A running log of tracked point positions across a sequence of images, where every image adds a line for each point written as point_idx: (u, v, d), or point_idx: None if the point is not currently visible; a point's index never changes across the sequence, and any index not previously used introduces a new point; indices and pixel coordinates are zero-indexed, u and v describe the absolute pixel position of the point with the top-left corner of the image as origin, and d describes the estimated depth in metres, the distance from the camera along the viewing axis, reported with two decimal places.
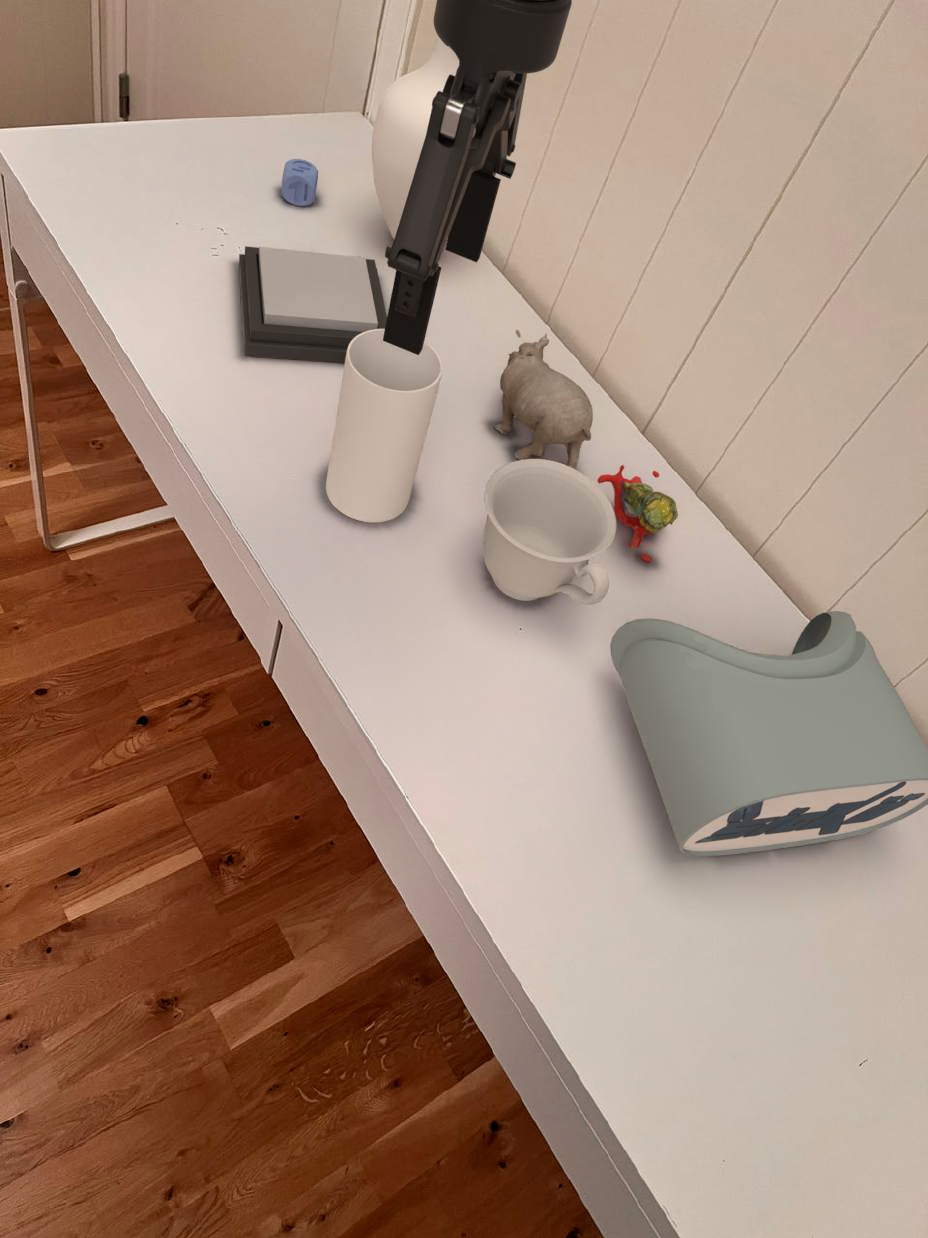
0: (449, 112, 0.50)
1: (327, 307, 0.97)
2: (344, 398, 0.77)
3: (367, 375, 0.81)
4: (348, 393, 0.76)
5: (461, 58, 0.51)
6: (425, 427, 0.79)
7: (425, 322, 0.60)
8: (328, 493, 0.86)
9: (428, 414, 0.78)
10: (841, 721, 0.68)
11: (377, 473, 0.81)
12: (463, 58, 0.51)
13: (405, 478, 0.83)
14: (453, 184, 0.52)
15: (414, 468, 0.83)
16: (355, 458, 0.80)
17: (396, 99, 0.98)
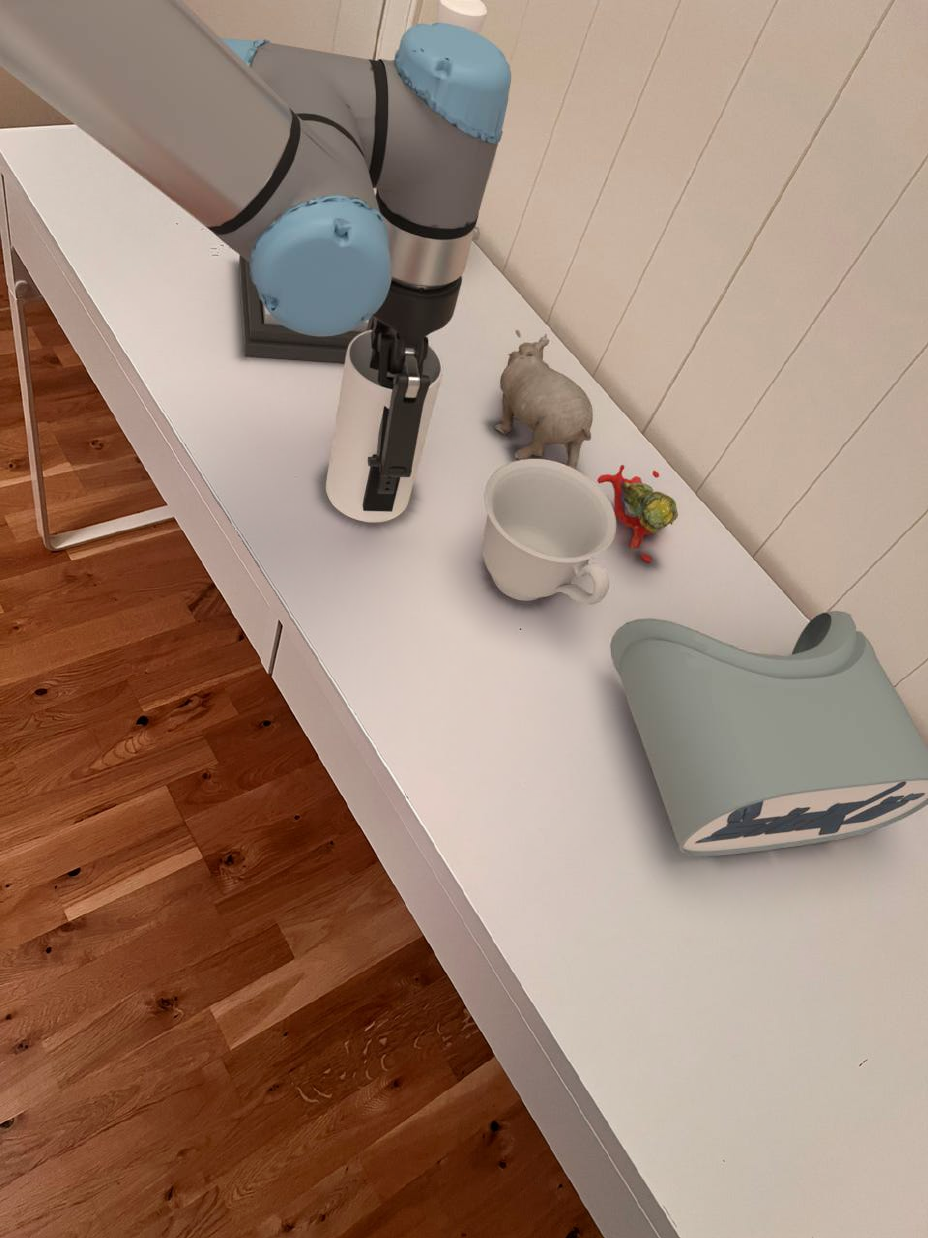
0: (411, 388, 0.70)
1: None
2: (344, 398, 0.77)
3: (367, 375, 0.81)
4: (348, 393, 0.76)
5: (402, 333, 0.69)
6: (425, 427, 0.79)
7: (396, 491, 0.82)
8: (328, 493, 0.86)
9: (428, 414, 0.78)
10: (841, 721, 0.68)
11: None
12: (403, 333, 0.69)
13: (405, 478, 0.83)
14: (419, 422, 0.73)
15: (414, 468, 0.83)
16: (355, 458, 0.80)
17: None
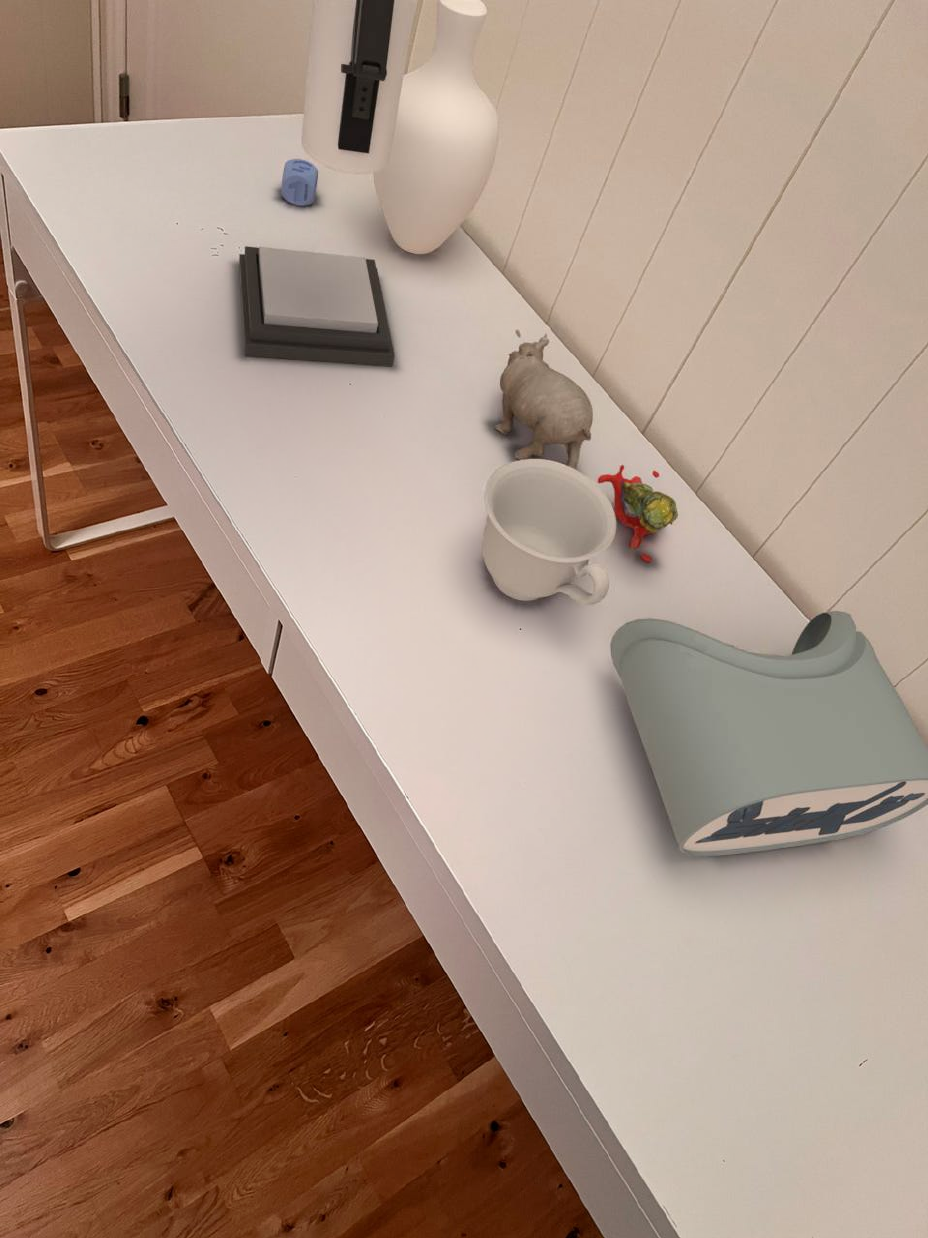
0: None
1: (327, 307, 0.97)
2: None
3: None
4: None
5: None
6: (403, 41, 0.75)
7: (372, 122, 0.77)
8: (303, 143, 0.82)
9: (406, 21, 0.73)
10: (841, 721, 0.68)
11: None
12: None
13: (383, 113, 0.78)
14: None
15: (393, 103, 0.79)
16: (329, 77, 0.75)
17: None
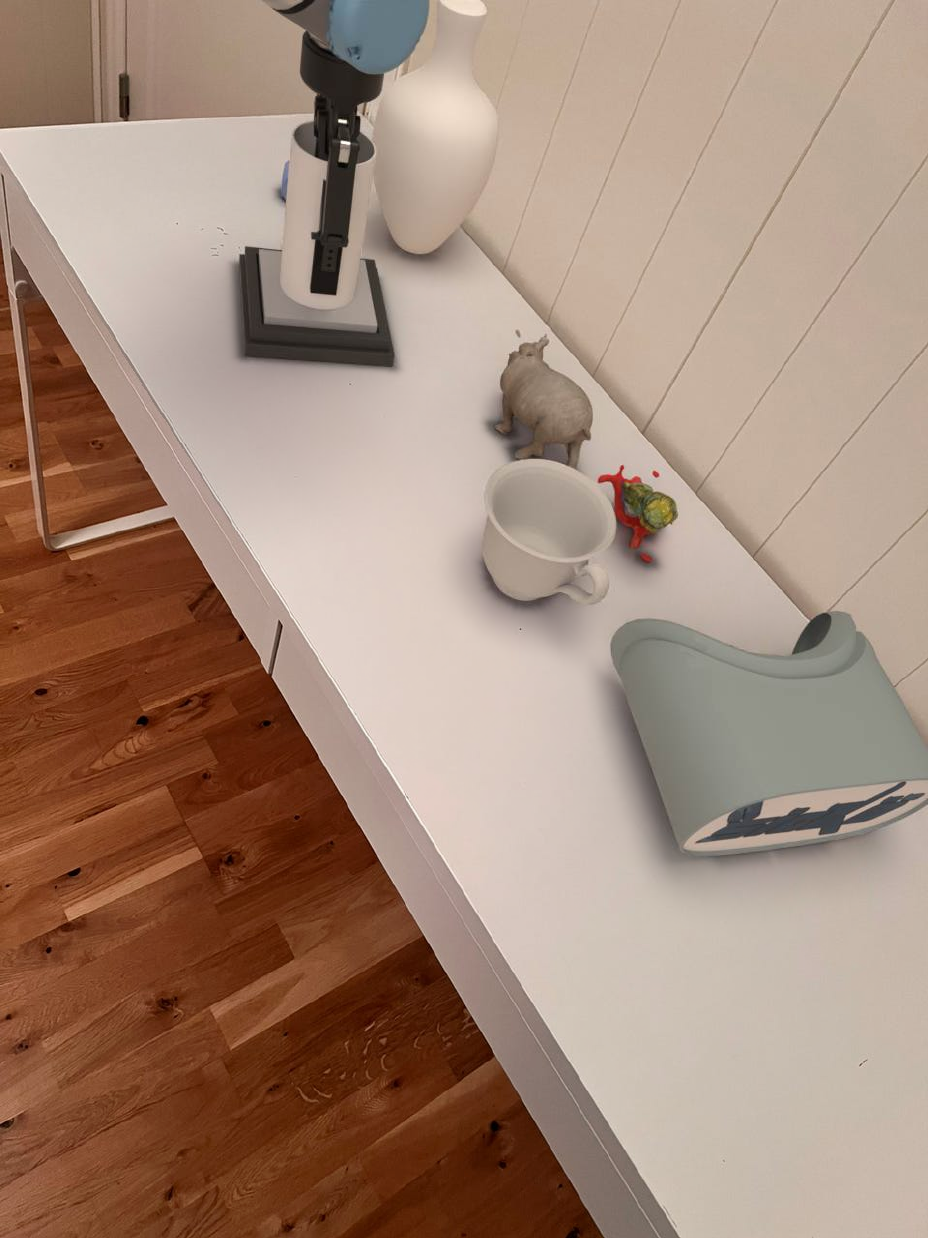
0: (343, 150, 0.81)
1: None
2: (290, 178, 0.88)
3: None
4: (293, 172, 0.87)
5: (335, 102, 0.80)
6: (363, 210, 0.90)
7: (338, 272, 0.93)
8: (281, 284, 0.97)
9: (365, 195, 0.89)
10: (841, 721, 0.68)
11: None
12: (336, 101, 0.80)
13: (347, 263, 0.94)
14: (352, 189, 0.84)
15: (356, 255, 0.94)
16: (302, 238, 0.91)
17: (396, 98, 0.98)
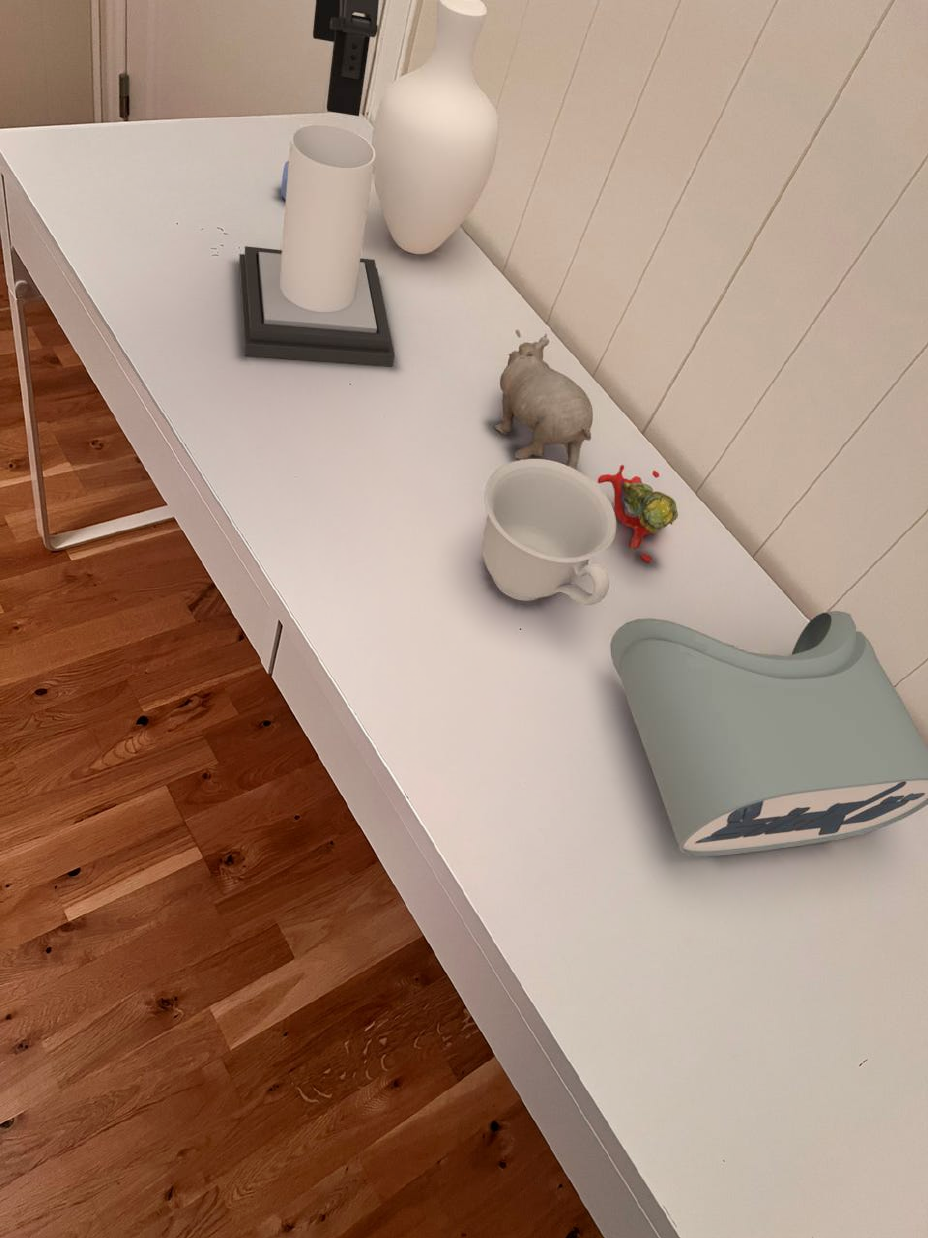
0: None
1: (326, 312, 0.97)
2: (290, 182, 0.88)
3: None
4: (293, 175, 0.87)
5: None
6: (362, 213, 0.90)
7: (362, 83, 0.75)
8: (281, 287, 0.97)
9: (364, 198, 0.89)
10: (841, 721, 0.68)
11: (321, 257, 0.92)
12: None
13: (347, 266, 0.94)
14: None
15: (355, 258, 0.94)
16: (301, 242, 0.91)
17: (396, 98, 0.98)
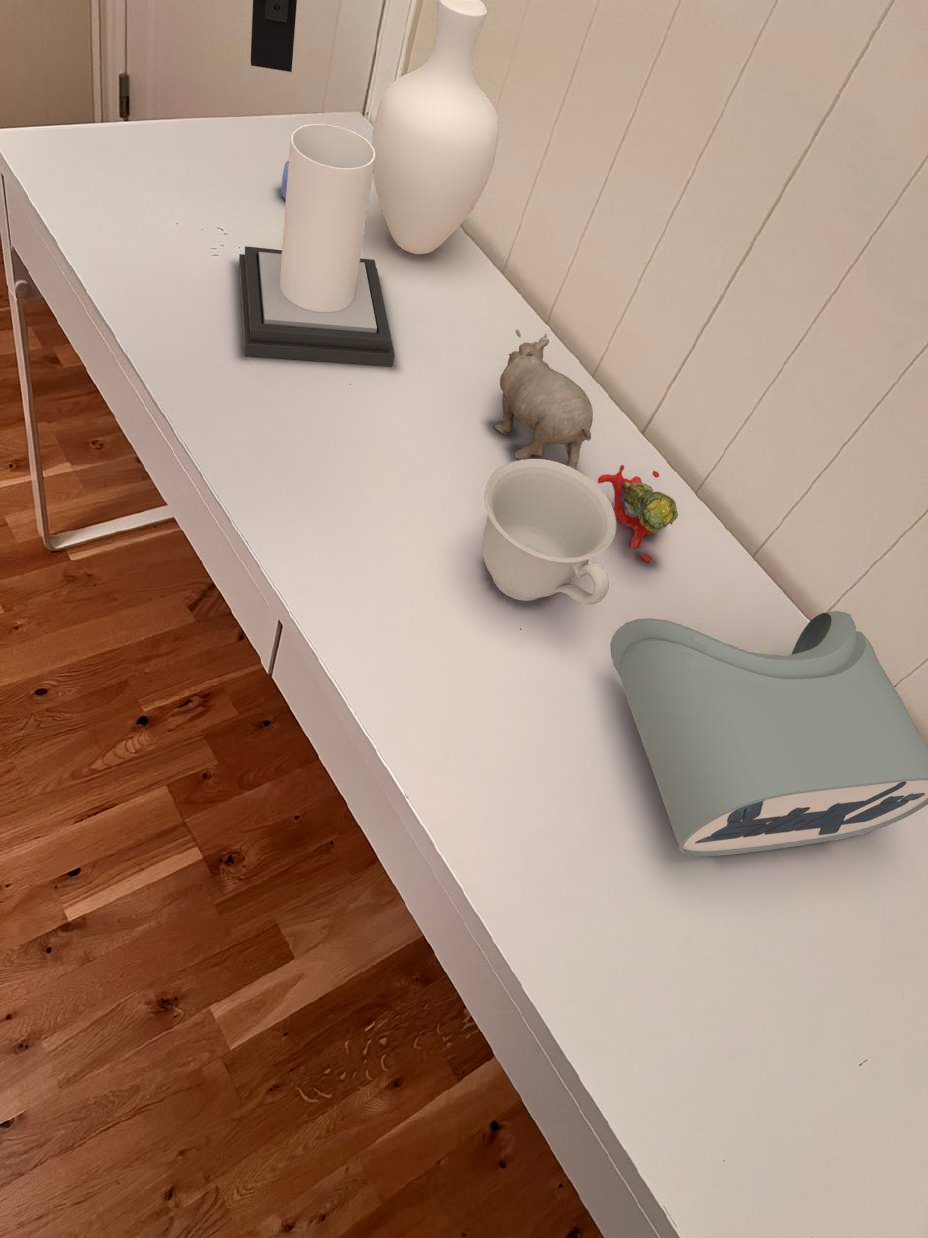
0: None
1: (326, 312, 0.97)
2: (290, 182, 0.88)
3: None
4: (292, 175, 0.87)
5: None
6: (362, 213, 0.90)
7: (293, 28, 0.59)
8: (281, 287, 0.97)
9: (364, 198, 0.89)
10: (841, 721, 0.68)
11: (321, 257, 0.92)
12: None
13: (347, 266, 0.94)
14: None
15: (355, 258, 0.94)
16: (301, 242, 0.91)
17: (396, 98, 0.98)
